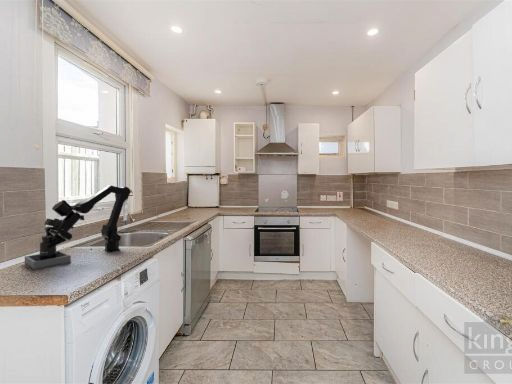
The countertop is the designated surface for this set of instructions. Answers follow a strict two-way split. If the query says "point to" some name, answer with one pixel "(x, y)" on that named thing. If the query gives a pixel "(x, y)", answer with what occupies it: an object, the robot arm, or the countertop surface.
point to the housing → (47, 261)
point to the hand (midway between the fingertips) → (44, 246)
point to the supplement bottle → (47, 252)
